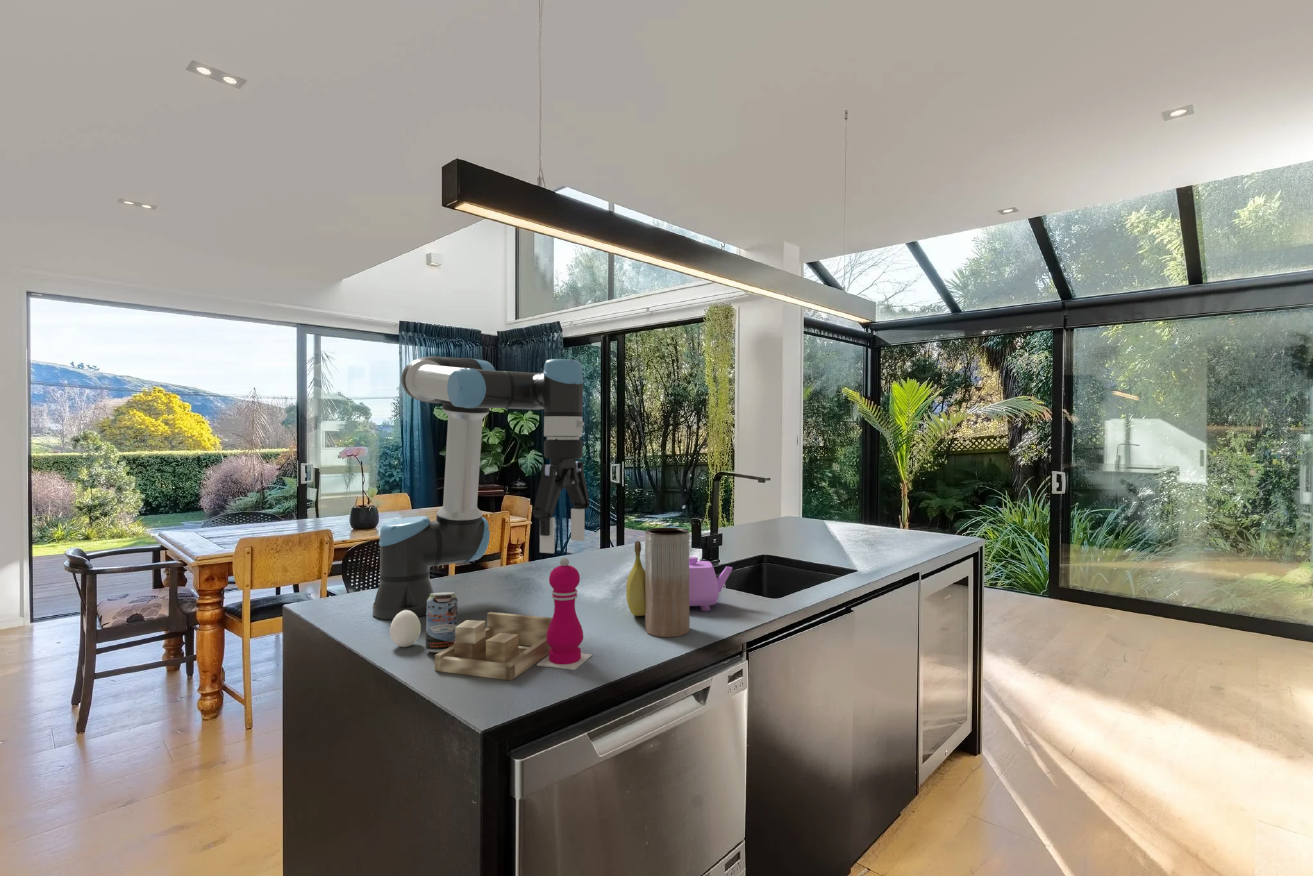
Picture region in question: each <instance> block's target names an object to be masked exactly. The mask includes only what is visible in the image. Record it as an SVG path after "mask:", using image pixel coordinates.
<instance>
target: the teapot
mask: <svg viewBox="0 0 1313 876" xmlns="http://www.w3.org/2000/svg"><path fill="white" fill-rule="evenodd" d="M732 571H733V567H732V566H725V567H724V569H723V570H722V572H721V573H720V574H719V575H718V577H717V575H716V572H715V568H714V566H713V564H712V562H711V561H708V560H699V558H698V557H697V556H689V601H690V607H699V608H700V611H703V612H705V611H706V612H708V611H709V612H710V611H711V607H710V606H714V605H716V604H717V602H718V600H719V593H721V591H722V589H723V588H724V586H725V584H726V582H727V580H728V579H729V577H730V575H731V572H732Z"/></svg>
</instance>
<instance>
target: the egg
mask: <svg viewBox="0 0 1313 876" xmlns="http://www.w3.org/2000/svg"><path fill="white" fill-rule="evenodd" d="M421 628H422V627H421V622H420V619H419V617H417V616H416V614H415V613H413V612H412V611H409V610H404V611H401V612H399V613H398V614H397V615H396V616H395V618H394V619H392V621H391V624H390V627H389V636H390V639H391V640H392V642H393V643H394V644H395V645H397V646H398V647H401V648H407V647H411V646H412V645H413V644H415V643H416V642H417V640H418V639H419V638H420V634H421V630H422V629H421Z"/></svg>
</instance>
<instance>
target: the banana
mask: <svg viewBox="0 0 1313 876" xmlns="http://www.w3.org/2000/svg"><path fill="white" fill-rule="evenodd" d="M641 551H642V544H641V542H640V541H639V540H636V541H635V542H634V553H635V559H634V564H633V566H632V568H631V570H630V571H629V574H628V576H627V580H626V592H625V595H626V603H627V606H628V608H629V611H630V613H631V615H632V616H635V617H636V616H637V617H642V616H643V617H645V568H644V567H643V565H642V562H641Z"/></svg>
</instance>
